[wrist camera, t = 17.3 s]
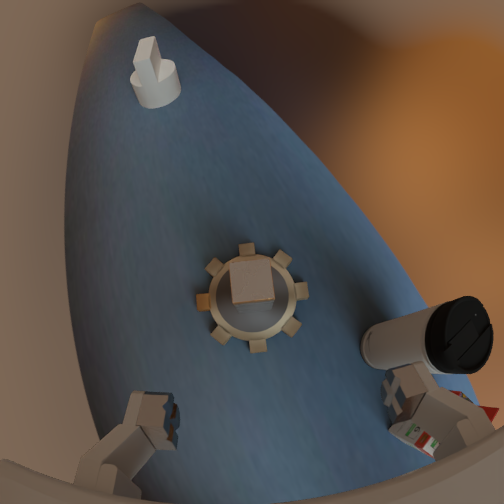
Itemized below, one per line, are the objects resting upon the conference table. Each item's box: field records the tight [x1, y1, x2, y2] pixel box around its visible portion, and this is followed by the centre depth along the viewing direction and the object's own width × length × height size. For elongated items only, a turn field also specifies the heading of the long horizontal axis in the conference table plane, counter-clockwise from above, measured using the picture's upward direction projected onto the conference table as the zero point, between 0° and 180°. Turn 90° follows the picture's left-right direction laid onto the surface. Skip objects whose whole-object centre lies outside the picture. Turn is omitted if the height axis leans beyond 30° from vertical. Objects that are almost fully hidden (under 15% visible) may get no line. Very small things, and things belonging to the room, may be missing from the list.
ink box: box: [388, 390, 499, 459], centre depth 25 cm, size 4×8×15 cm, turn 137°
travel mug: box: [360, 296, 493, 374], centre depth 26 cm, size 6×7×20 cm
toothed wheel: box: [196, 243, 309, 353], centre depth 37 cm, size 14×14×2 cm
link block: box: [229, 258, 275, 313], centre depth 33 cm, size 4×4×8 cm
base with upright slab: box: [130, 36, 181, 108], centre depth 46 cm, size 9×9×12 cm
